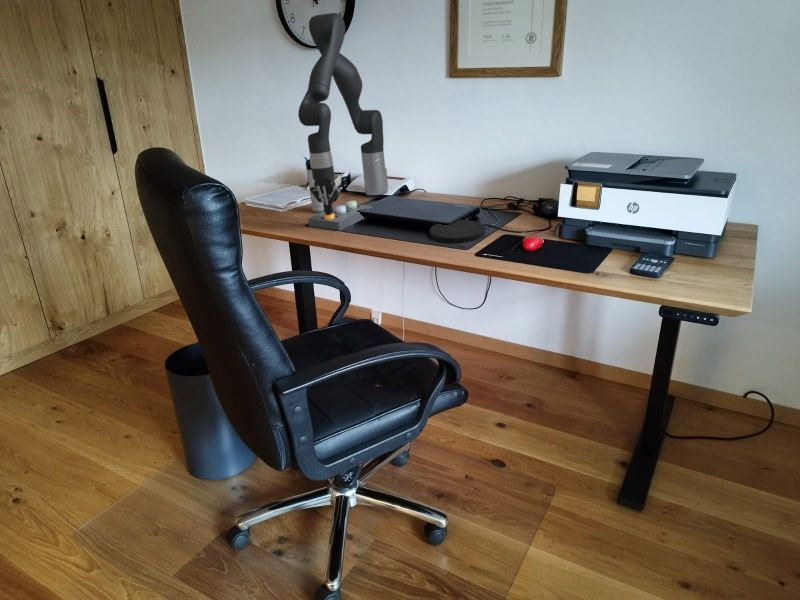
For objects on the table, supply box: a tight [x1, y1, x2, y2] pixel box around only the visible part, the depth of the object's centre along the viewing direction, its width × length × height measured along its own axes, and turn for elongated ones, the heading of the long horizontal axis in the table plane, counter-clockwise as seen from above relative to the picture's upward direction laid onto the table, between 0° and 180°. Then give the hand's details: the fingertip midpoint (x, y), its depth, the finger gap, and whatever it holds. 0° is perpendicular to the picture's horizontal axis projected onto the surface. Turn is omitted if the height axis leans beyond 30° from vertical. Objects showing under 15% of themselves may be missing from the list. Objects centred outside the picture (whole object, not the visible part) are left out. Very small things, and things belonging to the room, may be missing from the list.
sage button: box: [345, 199, 358, 210], centre depth 207 cm, size 4×4×4 cm
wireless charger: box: [429, 219, 486, 244], centre depth 179 cm, size 18×18×2 cm
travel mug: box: [305, 158, 324, 214], centre depth 213 cm, size 6×7×20 cm
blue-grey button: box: [334, 204, 346, 215], centre depth 202 cm, size 4×4×4 cm
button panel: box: [307, 202, 374, 232], centre depth 203 cm, size 20×14×3 cm
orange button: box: [323, 213, 335, 220], centre depth 198 cm, size 4×4×4 cm
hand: (328, 214), depth 197 cm, fingers closed
